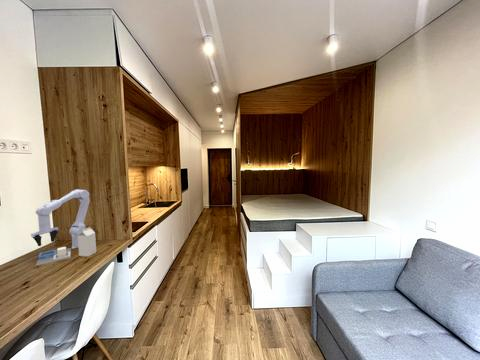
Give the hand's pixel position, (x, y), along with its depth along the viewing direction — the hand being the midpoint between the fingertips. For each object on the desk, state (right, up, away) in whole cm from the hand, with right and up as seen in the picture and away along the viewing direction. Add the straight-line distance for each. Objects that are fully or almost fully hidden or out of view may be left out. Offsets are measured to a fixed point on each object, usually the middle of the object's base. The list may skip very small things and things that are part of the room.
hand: (46, 243), depth 143 cm
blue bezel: (-2, -9, +3) cm, 10 cm away
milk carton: (+25, -10, +5) cm, 27 cm away
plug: (+11, -9, 0) cm, 14 cm away
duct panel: (+5, -10, +2) cm, 11 cm away
